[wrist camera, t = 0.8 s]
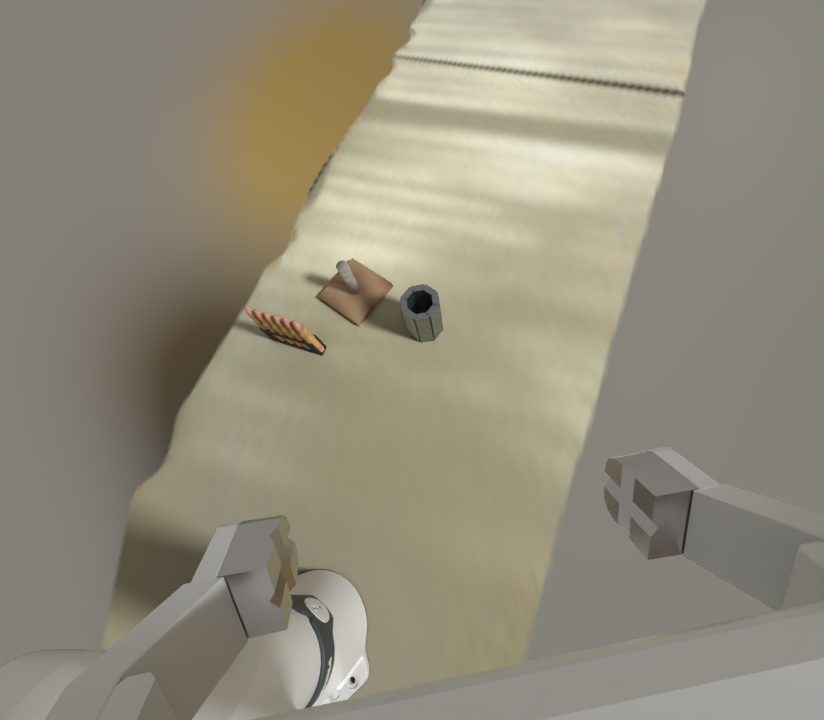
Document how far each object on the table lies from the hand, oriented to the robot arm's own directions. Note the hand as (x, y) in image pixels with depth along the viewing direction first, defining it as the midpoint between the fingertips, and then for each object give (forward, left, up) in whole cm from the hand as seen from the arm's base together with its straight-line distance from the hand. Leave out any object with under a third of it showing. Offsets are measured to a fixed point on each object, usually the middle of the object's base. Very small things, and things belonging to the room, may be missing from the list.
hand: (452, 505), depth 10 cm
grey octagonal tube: (+20, +23, -53) cm, 61 cm away
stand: (+18, +38, -53) cm, 67 cm away
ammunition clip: (+4, +40, -53) cm, 66 cm away
